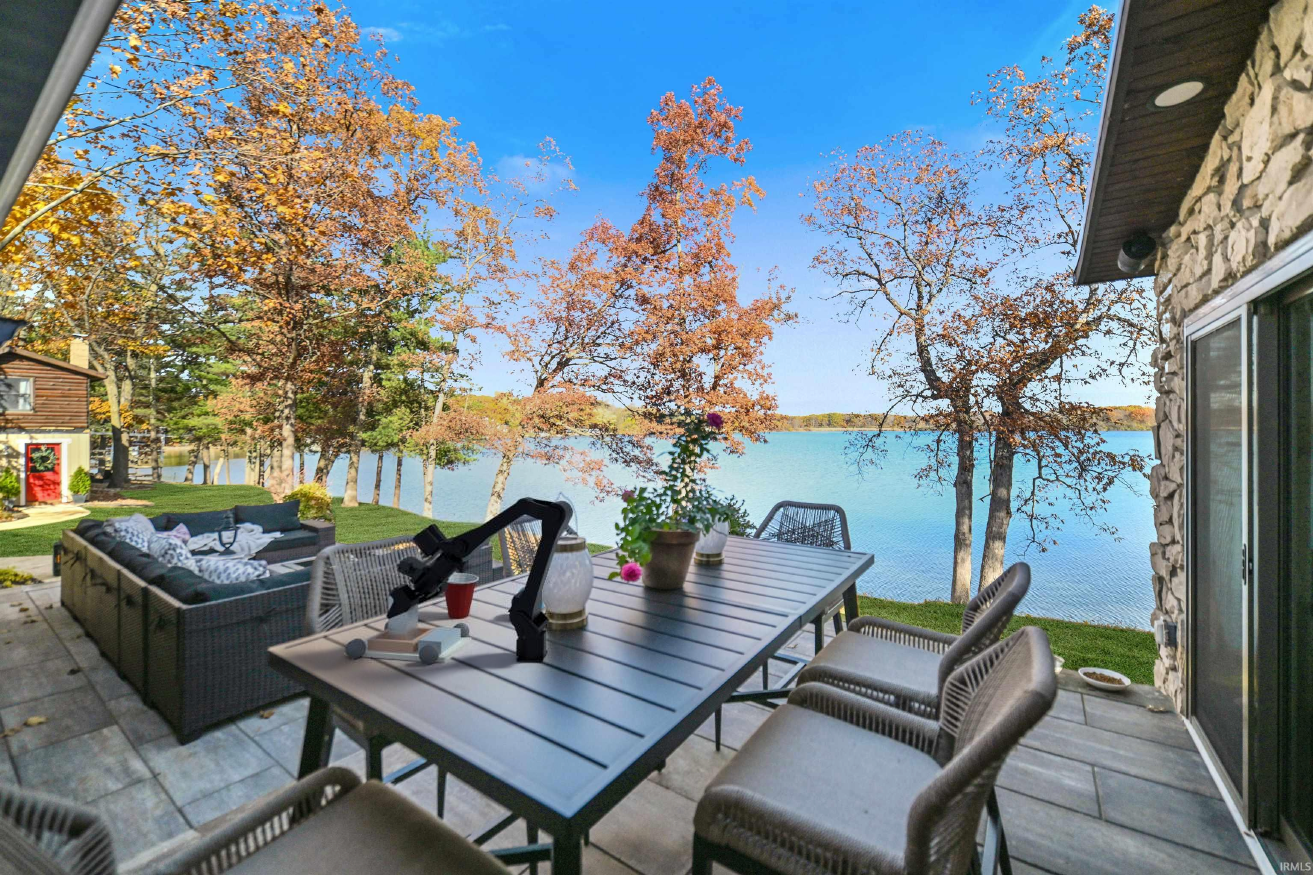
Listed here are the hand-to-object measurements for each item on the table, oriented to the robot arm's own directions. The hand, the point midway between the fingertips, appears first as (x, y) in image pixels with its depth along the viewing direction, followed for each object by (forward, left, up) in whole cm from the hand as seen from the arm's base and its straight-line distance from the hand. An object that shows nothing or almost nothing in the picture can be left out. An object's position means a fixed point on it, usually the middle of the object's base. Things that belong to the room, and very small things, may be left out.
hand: (398, 611), depth 143 cm
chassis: (-3, 0, -9) cm, 10 cm away
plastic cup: (-6, -27, -9) cm, 29 cm away
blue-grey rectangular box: (-1, 0, -8) cm, 8 cm away
